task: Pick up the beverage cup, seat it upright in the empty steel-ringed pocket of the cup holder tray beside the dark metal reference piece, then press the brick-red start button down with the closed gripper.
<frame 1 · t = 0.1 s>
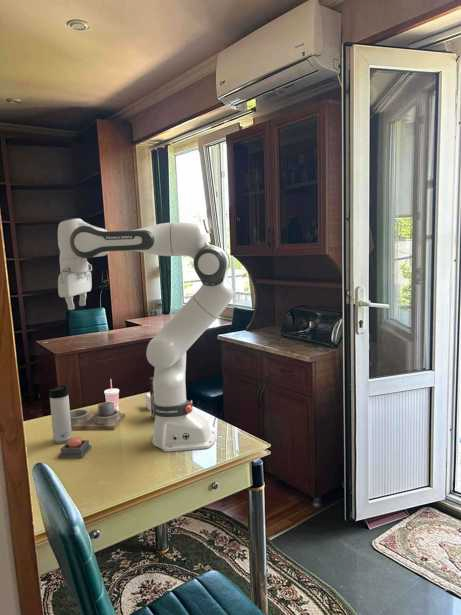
hand: (77, 307, 160), 48 cm above the table, fingers open, 8 cm apart
start button: (74, 442, 156), point 4 cm above the table, slide at 0.0 cm
travel mug: (63, 440, 168), on the table
button housing: (75, 452, 157), on the table
adhesive note: (155, 408, 198), on the table
cup holder tray: (92, 423, 183), on the table
coffee box: (163, 417, 187), on the table
beverage cup: (113, 411, 195), on the table
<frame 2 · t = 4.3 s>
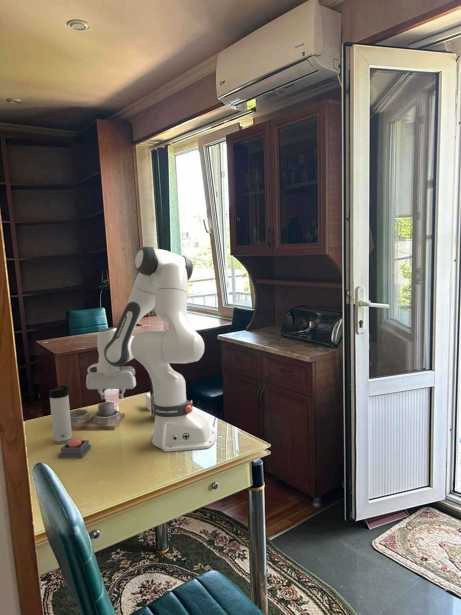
hand: (112, 398, 195), 5 cm above the table, fingers closed on beverage cup, 6 cm apart
beverage cup: (113, 411, 195), on the table, touching gripper
everything else where it was.
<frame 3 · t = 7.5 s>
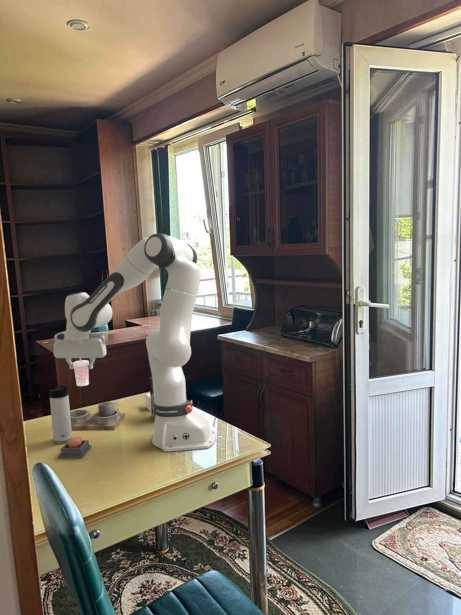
hand: (81, 368, 183), 21 cm above the table, fingers closed on beverage cup, 6 cm apart
beverage cup: (82, 384, 184), point 15 cm above the table, touching gripper
everything else where it was.
when the fingers open (8 cm above the table, at t = 10.8 s): beverage cup stays where it is, resting on cup holder tray.
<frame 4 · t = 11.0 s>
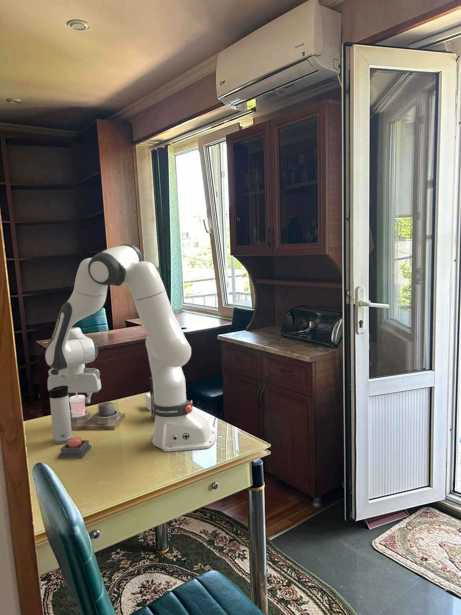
hand: (76, 402, 182), 8 cm above the table, fingers open, 8 cm apart
beverage cup: (79, 419, 183), point 1 cm above the table, touching cup holder tray
everything else where it was.
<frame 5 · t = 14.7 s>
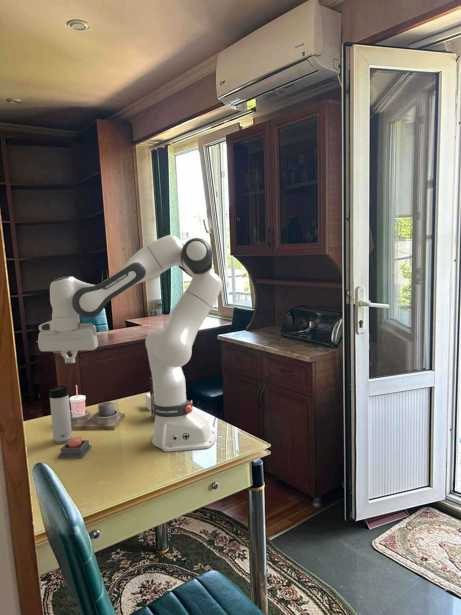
hand: (70, 362, 163), 29 cm above the table, fingers closed
nothing on the table moved.
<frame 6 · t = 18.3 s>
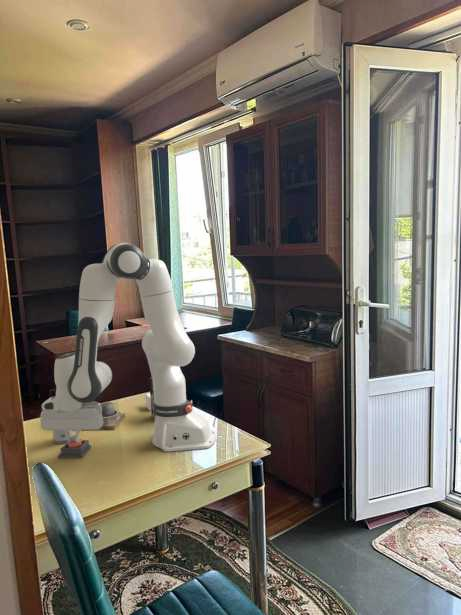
hand: (73, 441, 156), 4 cm above the table, fingers closed, pressing on start button
start button: (74, 444, 157), point 3 cm above the table, slide at 0.4 cm, touching gripper
everything else where it was.
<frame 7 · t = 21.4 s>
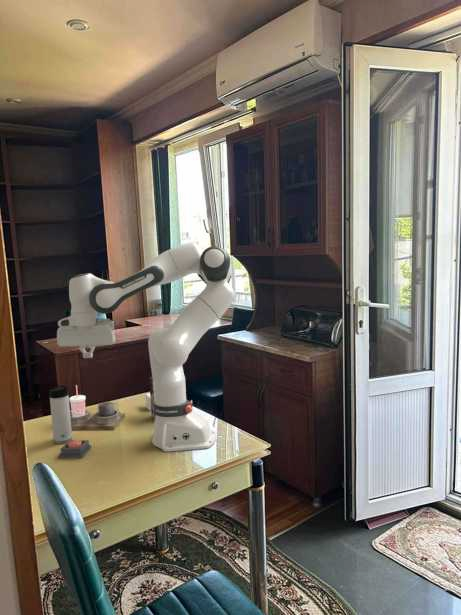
hand: (88, 357, 167), 29 cm above the table, fingers closed
start button: (75, 445, 157), point 2 cm above the table, slide at 1.0 cm
everything else where it was.
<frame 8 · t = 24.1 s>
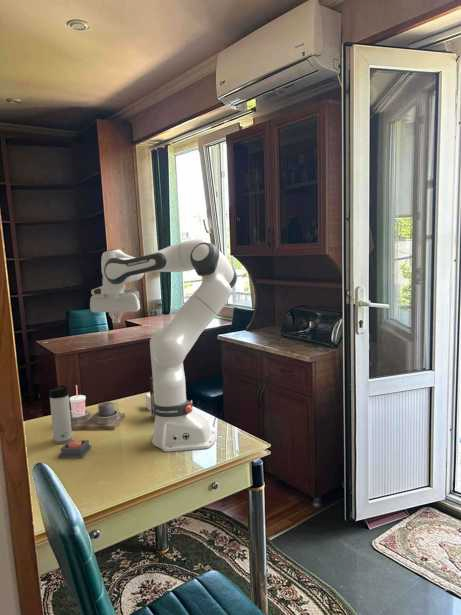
hand: (116, 322, 193), 37 cm above the table, fingers closed
nothing on the table moved.
at the end: beverage cup 0.7 cm from the target spot on the cup holder tray, point 1.3 cm above the cup holder tray's base; beverage cup tilted 0°; start button slide at 1.0 cm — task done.
